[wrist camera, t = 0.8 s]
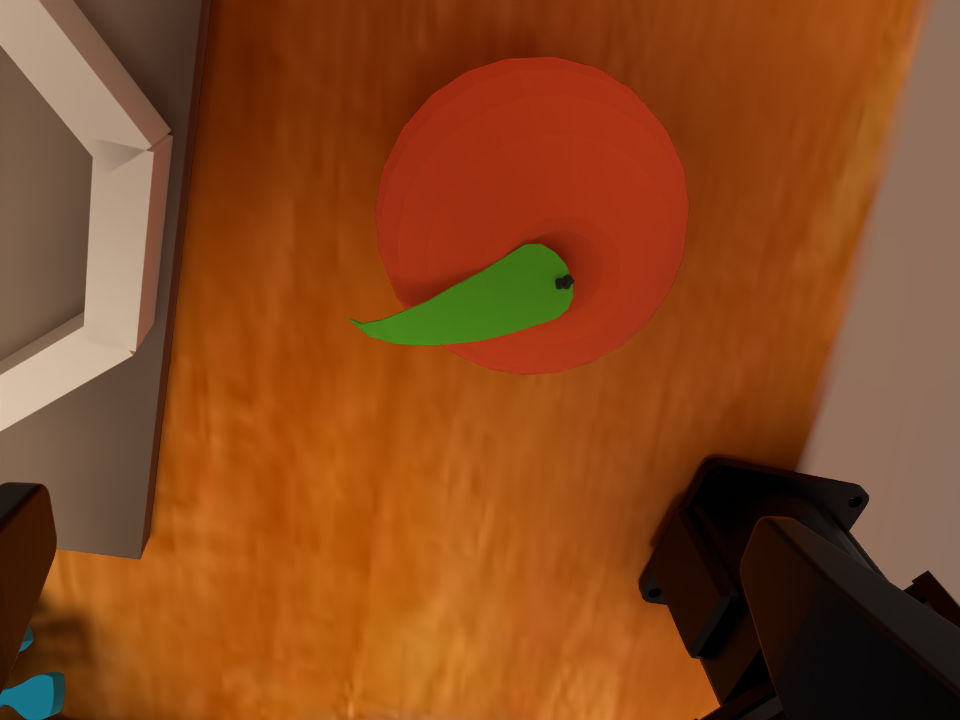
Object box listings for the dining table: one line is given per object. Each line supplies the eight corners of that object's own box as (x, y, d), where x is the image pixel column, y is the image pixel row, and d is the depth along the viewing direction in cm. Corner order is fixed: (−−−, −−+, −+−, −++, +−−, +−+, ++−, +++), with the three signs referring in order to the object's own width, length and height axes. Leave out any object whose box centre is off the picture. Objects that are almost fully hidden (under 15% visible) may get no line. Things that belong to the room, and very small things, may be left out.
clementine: (413, 349, 22) (423, 507, 16) (290, 131, 18) (240, 223, 12) (665, 237, 21) (782, 357, 15) (586, -13, 17) (694, 7, 11)
